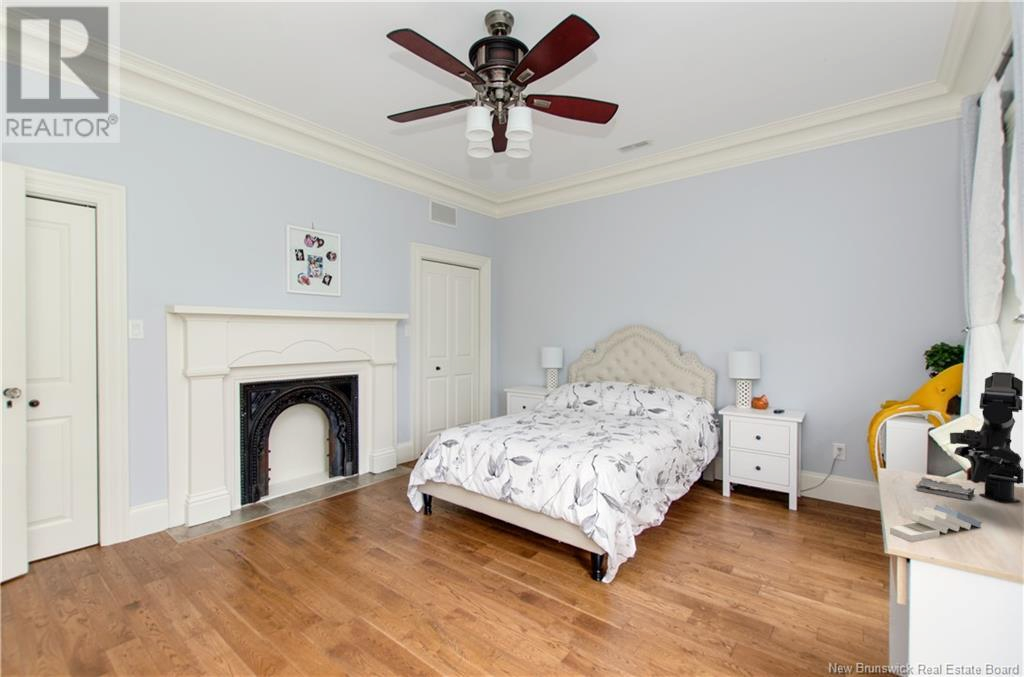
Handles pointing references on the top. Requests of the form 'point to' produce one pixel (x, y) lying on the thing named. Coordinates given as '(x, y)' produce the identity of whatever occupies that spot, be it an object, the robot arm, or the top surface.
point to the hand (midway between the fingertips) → (974, 482)
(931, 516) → the domino
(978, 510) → the top surface
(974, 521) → the domino
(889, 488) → the top surface
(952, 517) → the domino
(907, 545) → the top surface
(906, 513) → the domino
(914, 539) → the domino
